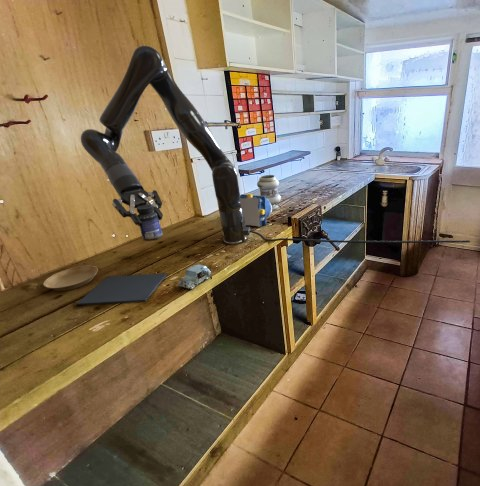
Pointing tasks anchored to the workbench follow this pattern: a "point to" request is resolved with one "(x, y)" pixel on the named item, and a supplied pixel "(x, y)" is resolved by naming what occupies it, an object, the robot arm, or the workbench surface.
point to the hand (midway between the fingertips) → (150, 221)
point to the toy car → (194, 276)
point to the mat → (123, 289)
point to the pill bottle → (149, 223)
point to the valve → (255, 209)
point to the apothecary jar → (269, 189)
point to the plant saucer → (71, 278)
